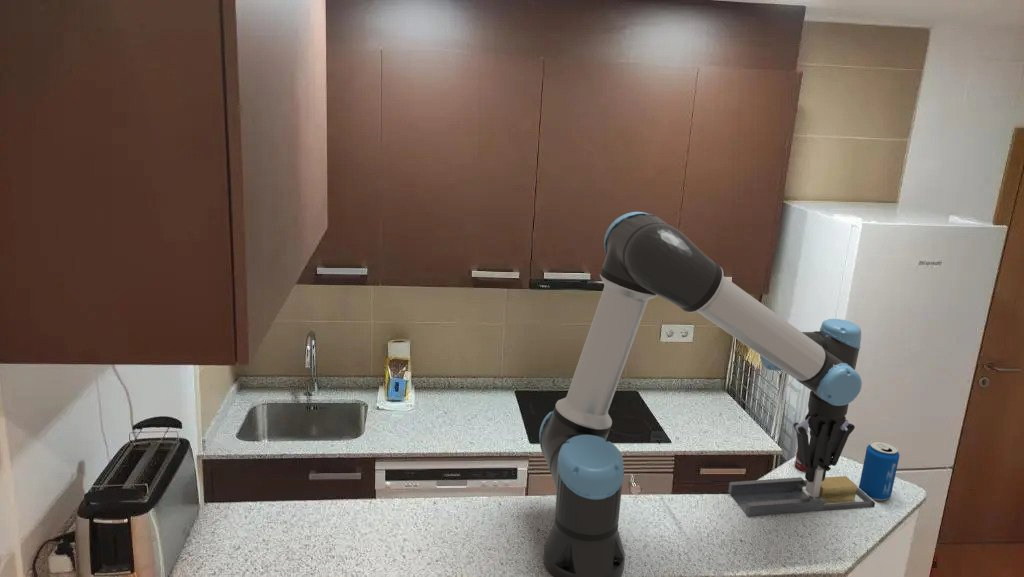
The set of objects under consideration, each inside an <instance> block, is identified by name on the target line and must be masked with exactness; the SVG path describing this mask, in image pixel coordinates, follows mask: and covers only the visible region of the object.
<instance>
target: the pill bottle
mask: <svg viewBox="0 0 1024 577" xmlns="http://www.w3.org/2000/svg"><path fill="white" fill-rule="evenodd" d="M808 439H809V442H810V437H808ZM794 468H795V469H796V470H797V471H800V472H801V473H805V474H806V467H805V466H804V465H803V464H802V463H801V462H800V461H799V456H798V447H797V449H796V455H795V460H794Z"/></svg>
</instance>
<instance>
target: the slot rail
mask: <svg viewBox="0 0 1024 577" xmlns="http://www.w3.org/2000/svg"><path fill="white" fill-rule="evenodd" d="M804 480H805V479H804V478H803V477H800V476H799V477H785V478H771V479H759V480H758V479H757V480H741V481H730V482H729V483H728V490H727V491H728V492H727V494H729V496H730V497H731V498H732V499H733V500H734V501H735V503H736V504H737V505H738V506H739V508H740V509H741V510H742V511H743V513H744V514H745V515H746V516H747V517H748V518H749V517H750V518H751V517H752V518H753V517H754V518H755V517H763V516H766V517H767V516H778V515H791V514H804V513H814V512H815V513H816V512H824V511H823V509H824V504H826V503H825V500H824V499H823V498H822V497H819V498H815V497H811V496H809V494H807V493H806V492H805V491H804V490H803V489H804V487H803V484H804Z"/></svg>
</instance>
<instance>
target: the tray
mask: <svg viewBox="0 0 1024 577" xmlns="http://www.w3.org/2000/svg"><path fill="white" fill-rule="evenodd" d="M803 480H804V484H803V488H804V487H806V484H807V480H806V479H803ZM856 496H858V498H860V500H861V501H848V502H835V503H824V509H823V511H822V512H829V511H830V512H831V511H843V510H854V509H856V510H857V509H866V508H867V509H869V508H874V507H875V506H876V502H875V500H873V499H871V498H870V497H869V496H868V495H867V494H866V493H865V492H863V491H862V490H861V489H860V488H859V486H857V491H856Z"/></svg>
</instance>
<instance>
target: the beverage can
mask: <svg viewBox="0 0 1024 577" xmlns="http://www.w3.org/2000/svg"><path fill="white" fill-rule="evenodd" d="M899 460H900V453H899V448H898V446H896V445H895V444H893V443H891V442H889V441H885V440H881V439H879V440H878V439H875V440H871V441H870V442H869V444H868V445H867V446H866V449H865V455H864V460H863V465H862V470H861V475H860V479H859V485H858V488H859V489H860V490H861V491H862V492H863V493H865V494H866V495H867V496H868V497H869V498H870V499H871V500H872V501H878V502H879V501H880V502H881V501H885V500H888V499H890V498H891V497H892V492H893V489H894V483H895V479H896V474H897V470H898V465H899Z"/></svg>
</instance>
